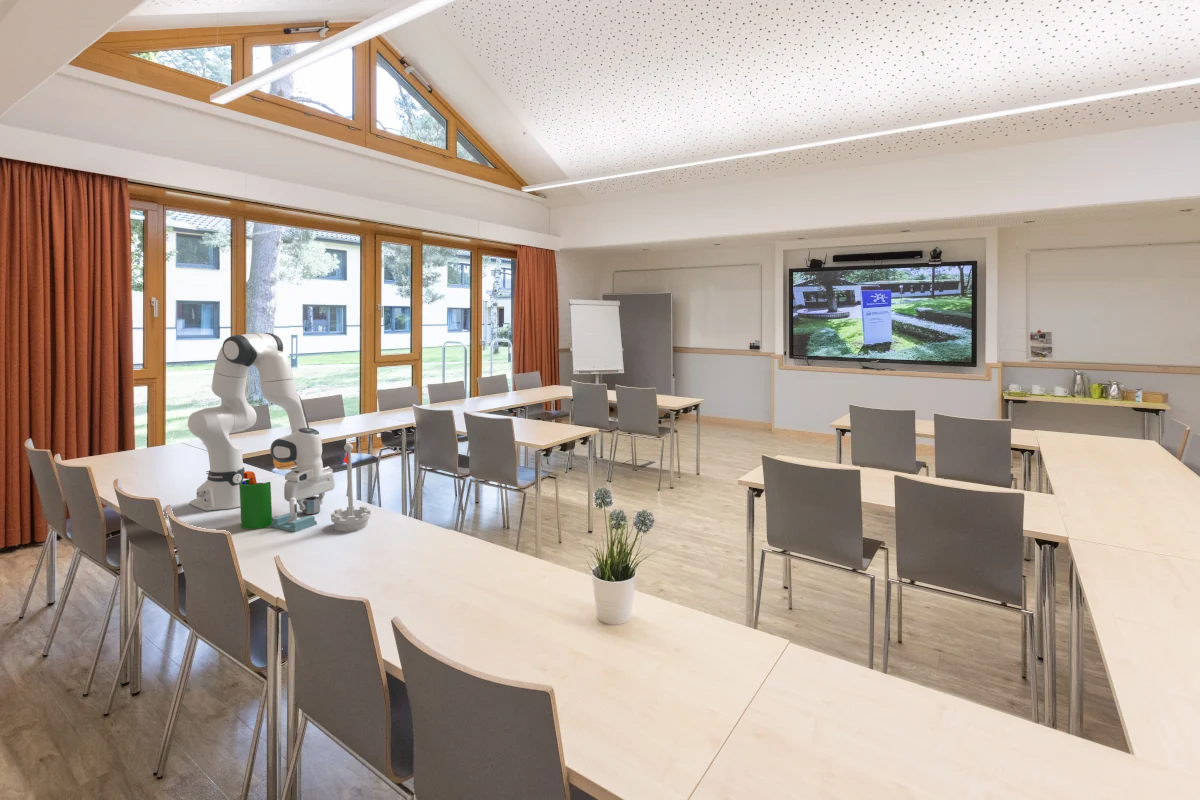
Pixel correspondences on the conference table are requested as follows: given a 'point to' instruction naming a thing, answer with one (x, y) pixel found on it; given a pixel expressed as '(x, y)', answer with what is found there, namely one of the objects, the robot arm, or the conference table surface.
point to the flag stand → (350, 504)
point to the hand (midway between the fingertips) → (311, 507)
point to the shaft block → (293, 520)
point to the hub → (311, 505)
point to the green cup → (255, 502)
